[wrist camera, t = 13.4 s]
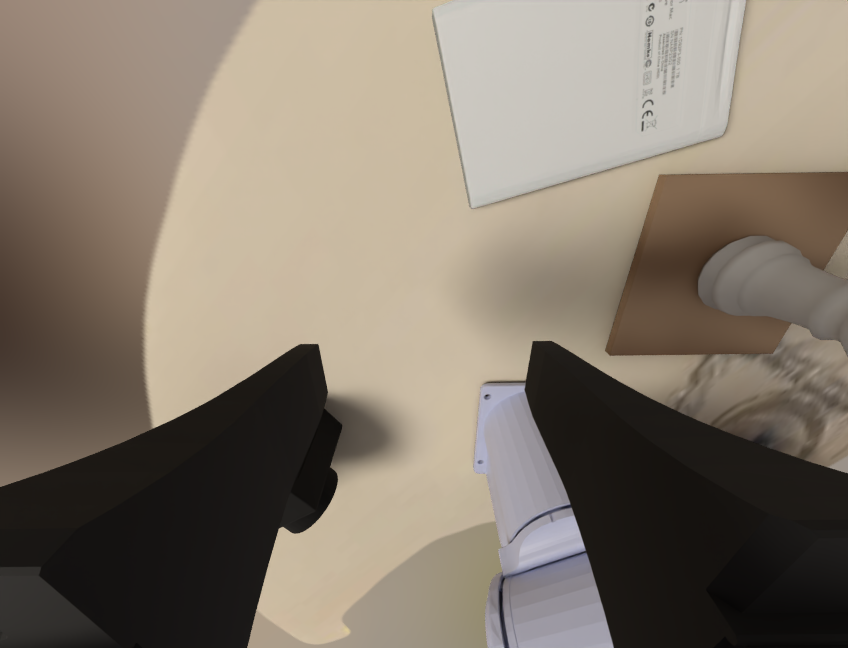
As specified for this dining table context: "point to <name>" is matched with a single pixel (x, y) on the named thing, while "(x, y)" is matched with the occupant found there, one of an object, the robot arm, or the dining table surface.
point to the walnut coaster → (702, 237)
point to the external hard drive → (581, 85)
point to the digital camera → (313, 479)
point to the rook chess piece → (776, 287)
